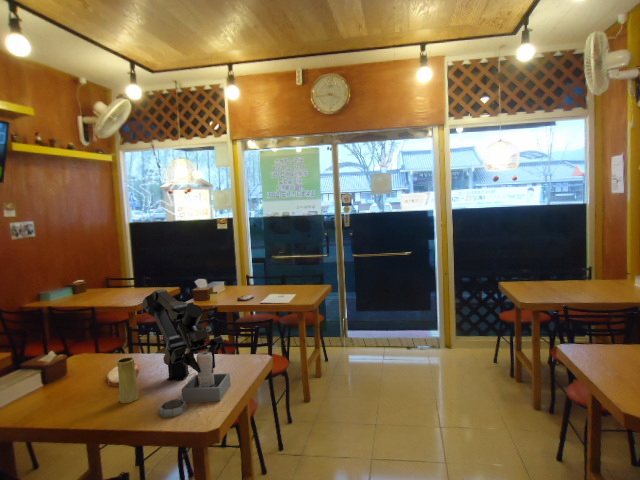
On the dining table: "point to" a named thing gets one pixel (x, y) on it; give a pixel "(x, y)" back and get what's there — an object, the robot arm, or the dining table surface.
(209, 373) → the energy drink
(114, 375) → the bread slice
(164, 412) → the metal collar
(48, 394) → the dining table surface
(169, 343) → the robot arm
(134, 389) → the vase
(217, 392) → the bin
